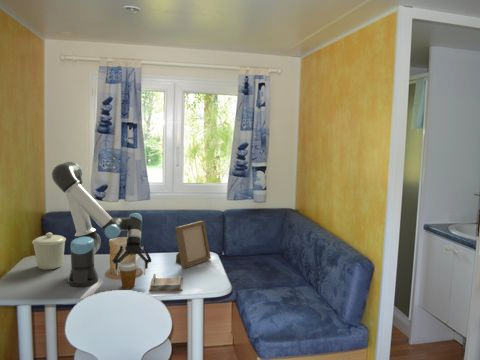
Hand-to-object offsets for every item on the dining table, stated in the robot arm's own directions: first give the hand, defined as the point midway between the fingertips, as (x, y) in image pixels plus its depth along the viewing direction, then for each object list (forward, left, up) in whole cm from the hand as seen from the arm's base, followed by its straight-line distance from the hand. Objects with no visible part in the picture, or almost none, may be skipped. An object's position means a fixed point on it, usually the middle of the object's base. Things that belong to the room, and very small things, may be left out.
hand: (131, 274), depth 209 cm
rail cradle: (+19, 0, -6) cm, 20 cm away
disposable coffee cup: (-1, 0, -6) cm, 7 cm away
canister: (-51, +32, -6) cm, 61 cm away
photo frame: (+32, +36, -7) cm, 48 cm away
